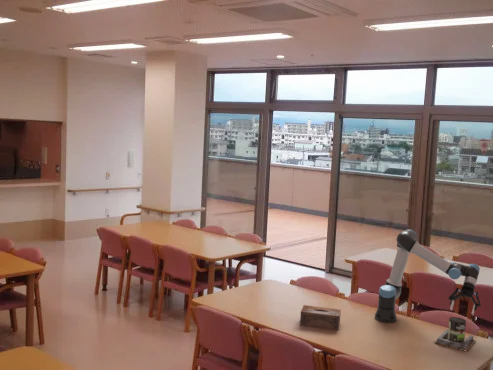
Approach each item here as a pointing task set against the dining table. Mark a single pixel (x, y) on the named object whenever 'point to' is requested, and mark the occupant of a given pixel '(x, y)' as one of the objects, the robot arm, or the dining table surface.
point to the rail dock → (443, 341)
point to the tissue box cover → (320, 317)
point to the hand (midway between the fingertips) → (461, 311)
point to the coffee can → (456, 329)
